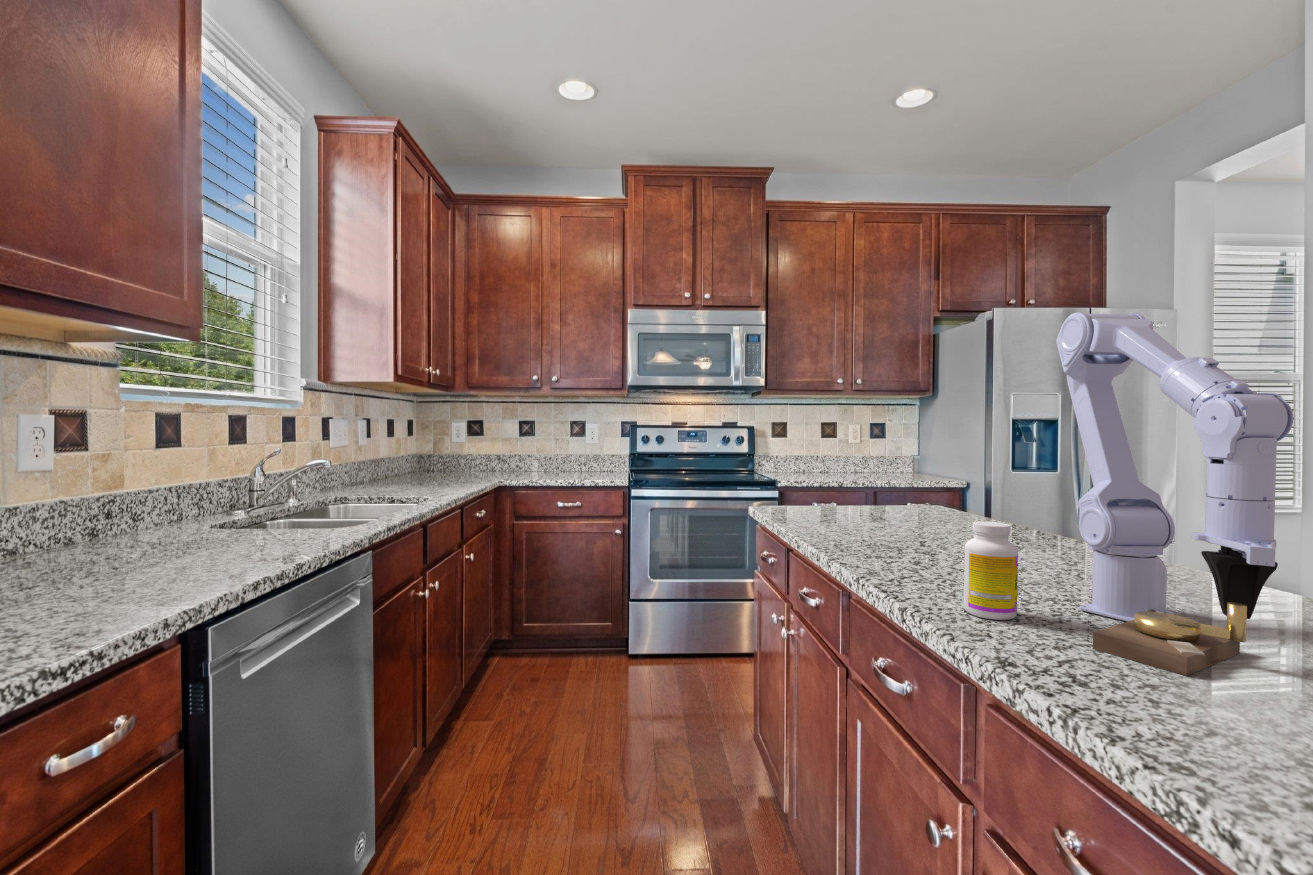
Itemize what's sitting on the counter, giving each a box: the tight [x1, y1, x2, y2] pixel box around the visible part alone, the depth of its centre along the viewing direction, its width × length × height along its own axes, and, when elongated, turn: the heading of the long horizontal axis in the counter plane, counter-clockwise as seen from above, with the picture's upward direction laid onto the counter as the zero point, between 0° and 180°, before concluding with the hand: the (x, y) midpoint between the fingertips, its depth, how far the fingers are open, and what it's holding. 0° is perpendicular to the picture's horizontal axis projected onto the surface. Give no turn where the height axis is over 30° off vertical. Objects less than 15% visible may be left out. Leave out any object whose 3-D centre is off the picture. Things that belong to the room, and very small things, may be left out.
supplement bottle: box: [963, 520, 1019, 621], centre depth 85 cm, size 7×7×13 cm
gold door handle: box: [1134, 602, 1248, 643], centre depth 71 cm, size 10×6×4 cm, turn 49°
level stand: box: [1092, 609, 1241, 677], centre depth 72 cm, size 14×10×4 cm
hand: (1236, 616), depth 69 cm, fingers closed
